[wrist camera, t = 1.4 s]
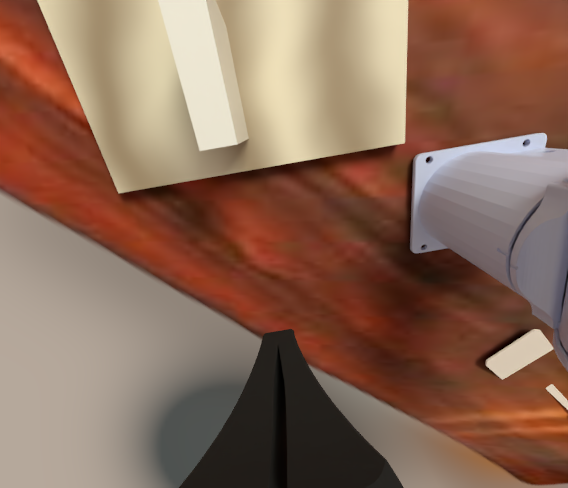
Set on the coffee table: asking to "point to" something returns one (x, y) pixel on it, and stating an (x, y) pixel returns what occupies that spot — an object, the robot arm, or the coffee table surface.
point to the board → (250, 77)
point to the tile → (205, 71)
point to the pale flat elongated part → (523, 358)
